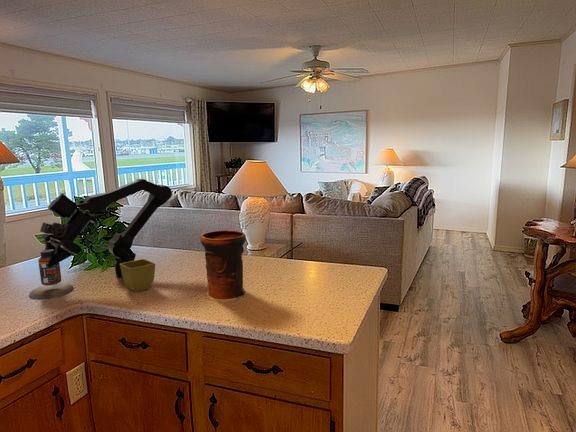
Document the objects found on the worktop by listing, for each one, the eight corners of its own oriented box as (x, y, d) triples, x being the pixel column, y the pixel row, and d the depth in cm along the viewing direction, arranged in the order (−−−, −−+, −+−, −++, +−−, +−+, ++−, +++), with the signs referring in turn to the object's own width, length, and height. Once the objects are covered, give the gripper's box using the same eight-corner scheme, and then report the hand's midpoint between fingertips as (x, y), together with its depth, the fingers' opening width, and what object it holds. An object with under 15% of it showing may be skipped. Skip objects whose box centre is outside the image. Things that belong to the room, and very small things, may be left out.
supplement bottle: (48, 287, 133) (43, 253, 131) (37, 284, 136) (32, 252, 134) (65, 281, 138) (61, 249, 136) (54, 279, 141) (50, 247, 139)
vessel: (198, 289, 137) (196, 231, 133) (239, 283, 142) (238, 227, 139) (207, 304, 124) (205, 240, 120) (252, 298, 129) (251, 236, 126)
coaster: (74, 282, 146) (74, 280, 146) (72, 294, 134) (72, 292, 134) (32, 288, 141) (31, 286, 140) (26, 301, 129) (26, 299, 129)
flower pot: (146, 282, 145) (144, 258, 143) (157, 288, 139) (155, 263, 137) (121, 289, 139) (119, 263, 137) (132, 295, 133) (130, 268, 131)
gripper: (44, 210, 142) (12, 248, 135) (66, 215, 130) (33, 257, 124) (70, 228, 149) (42, 264, 143) (94, 234, 137) (64, 274, 131)
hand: (44, 265), depth 135 cm, fingers closed on supplement bottle, 6 cm apart
